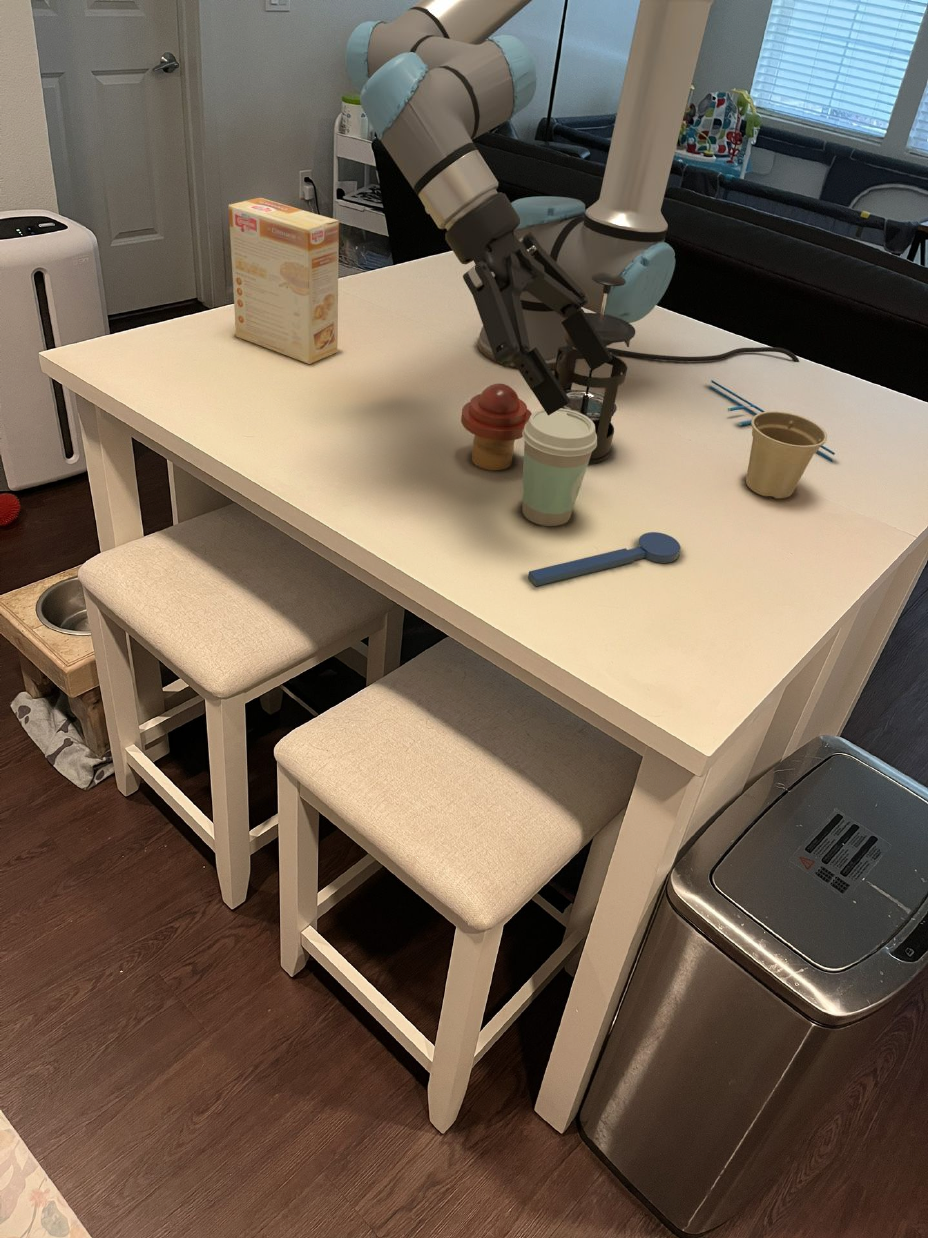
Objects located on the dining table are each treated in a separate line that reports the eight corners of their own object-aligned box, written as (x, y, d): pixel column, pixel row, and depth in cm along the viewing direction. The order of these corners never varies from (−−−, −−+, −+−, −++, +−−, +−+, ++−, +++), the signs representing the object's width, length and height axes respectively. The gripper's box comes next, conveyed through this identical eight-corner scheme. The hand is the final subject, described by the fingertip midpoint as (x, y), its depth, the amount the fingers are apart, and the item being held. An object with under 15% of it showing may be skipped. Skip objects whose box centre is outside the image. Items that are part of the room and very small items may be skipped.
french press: (628, 459, 124) (667, 287, 110) (572, 472, 120) (605, 295, 105) (576, 420, 131) (607, 255, 117) (522, 431, 127) (547, 261, 113)
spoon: (661, 536, 110) (663, 528, 109) (686, 558, 106) (689, 550, 106) (520, 569, 101) (521, 561, 101) (543, 594, 98) (544, 586, 97)
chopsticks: (810, 457, 126) (835, 452, 128) (687, 382, 142) (712, 379, 144) (806, 466, 127) (831, 461, 129) (685, 391, 143) (709, 387, 145)
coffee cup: (577, 538, 107) (596, 446, 100) (505, 524, 108) (519, 432, 101) (584, 502, 114) (603, 413, 107) (516, 489, 115) (530, 400, 107)
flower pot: (793, 514, 117) (816, 453, 111) (722, 489, 120) (741, 428, 115) (813, 485, 123) (835, 427, 118) (745, 462, 126) (764, 403, 121)
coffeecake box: (339, 352, 142) (341, 219, 130) (309, 365, 137) (308, 229, 125) (265, 324, 148) (260, 195, 136) (234, 336, 143) (226, 203, 131)
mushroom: (504, 439, 125) (514, 366, 118) (538, 471, 119) (551, 396, 113) (445, 449, 121) (452, 374, 115) (477, 482, 115) (487, 405, 109)
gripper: (494, 207, 107) (593, 364, 112) (388, 262, 89) (511, 445, 94) (543, 166, 102) (644, 332, 107) (441, 215, 84) (568, 412, 89)
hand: (582, 385), depth 100 cm, fingers open, 13 cm apart
